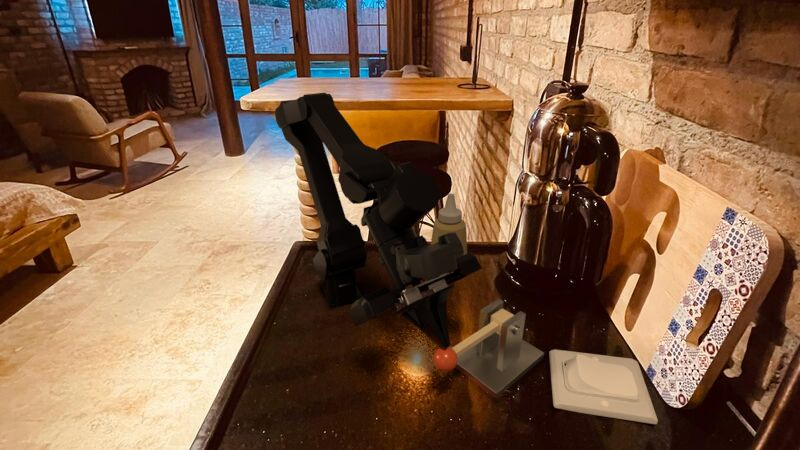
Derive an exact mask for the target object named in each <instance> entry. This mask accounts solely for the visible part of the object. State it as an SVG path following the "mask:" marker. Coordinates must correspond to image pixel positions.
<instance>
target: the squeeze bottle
mask: <svg viewBox="0 0 800 450" xmlns="http://www.w3.org/2000/svg"><path fill="white" fill-rule="evenodd" d="M437 215H438V218H437V219H435V220H434V221H433V227H432V232H431V240H430V245H432V244H435V243H438V238H439V236H442V235H444V234H447V233H453V232H455V233H456V234H457V236H458V238H459V239H460V241H461V243H462V246H463V250H464V254H463V255H465V254H468V242H467V223H466V222H465V220H464V219H463V218H462V216H463V212H462V210H461V209H460V208H458V207H457V203H456V197H455V194H454V193H448V194H447V197H446V200H445V205H444V207H442V208H440V209H439V210H438V214H437Z"/></svg>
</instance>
